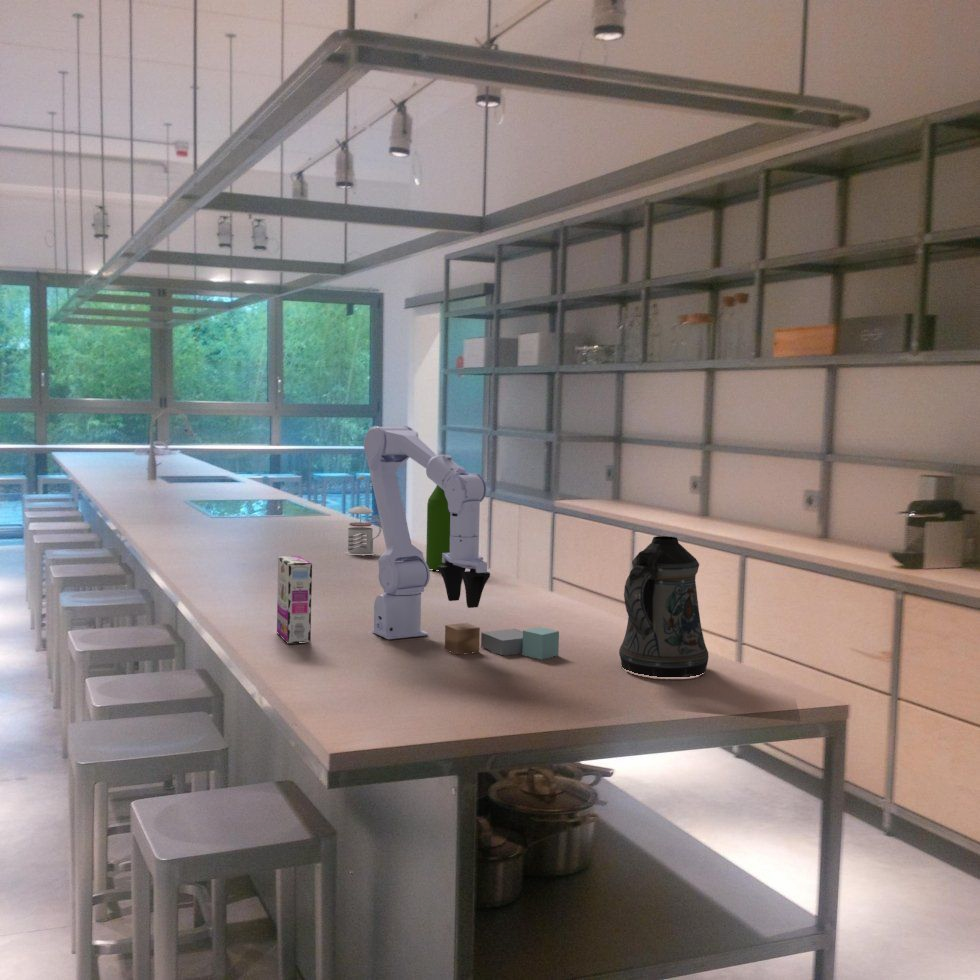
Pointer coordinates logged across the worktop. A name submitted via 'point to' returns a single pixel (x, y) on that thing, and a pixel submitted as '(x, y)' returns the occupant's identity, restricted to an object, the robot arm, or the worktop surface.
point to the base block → (503, 641)
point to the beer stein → (663, 613)
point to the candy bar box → (294, 599)
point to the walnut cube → (462, 638)
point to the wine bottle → (437, 528)
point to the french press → (361, 531)
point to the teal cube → (540, 643)
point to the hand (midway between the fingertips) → (463, 603)
